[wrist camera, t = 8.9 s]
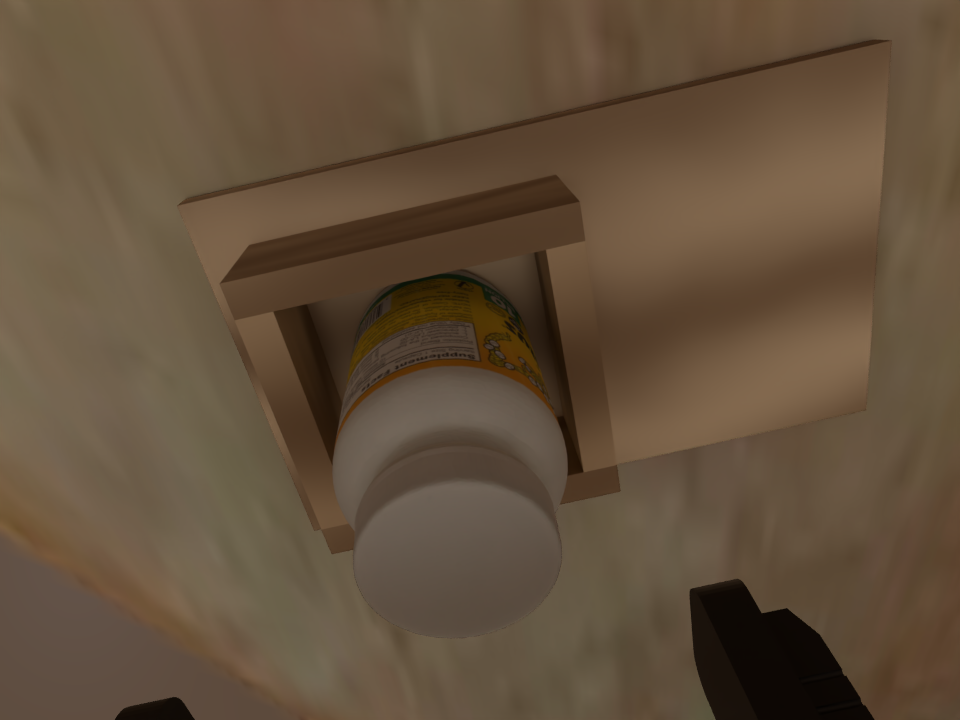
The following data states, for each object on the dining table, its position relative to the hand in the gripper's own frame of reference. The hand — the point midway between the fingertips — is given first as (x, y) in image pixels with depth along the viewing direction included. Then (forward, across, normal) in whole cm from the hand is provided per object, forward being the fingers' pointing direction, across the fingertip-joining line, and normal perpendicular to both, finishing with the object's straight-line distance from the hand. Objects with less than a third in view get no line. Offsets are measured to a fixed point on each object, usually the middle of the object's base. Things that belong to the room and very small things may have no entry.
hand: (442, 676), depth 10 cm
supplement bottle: (+12, 0, 0) cm, 12 cm away
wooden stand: (+13, -4, 0) cm, 13 cm away
